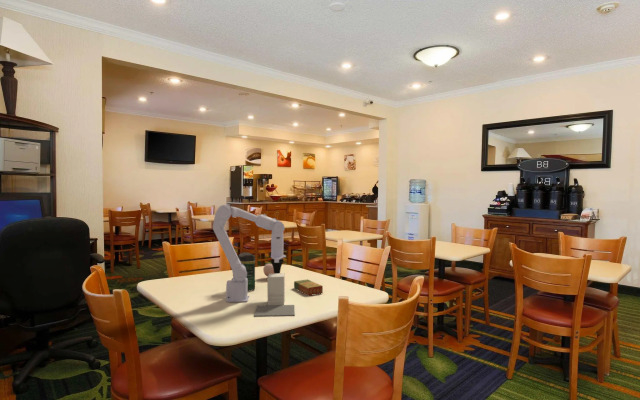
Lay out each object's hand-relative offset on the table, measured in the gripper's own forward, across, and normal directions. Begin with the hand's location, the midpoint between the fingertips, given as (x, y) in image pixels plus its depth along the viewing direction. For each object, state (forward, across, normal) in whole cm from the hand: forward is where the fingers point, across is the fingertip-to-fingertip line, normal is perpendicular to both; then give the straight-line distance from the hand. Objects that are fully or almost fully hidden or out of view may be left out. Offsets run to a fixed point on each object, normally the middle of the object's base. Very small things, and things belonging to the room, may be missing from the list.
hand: (277, 275), depth 170 cm
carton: (+11, +11, -15) cm, 22 cm away
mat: (+10, -20, 0) cm, 23 cm away
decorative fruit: (+11, +38, +5) cm, 40 cm away
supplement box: (+11, -9, 0) cm, 14 cm away
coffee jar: (+11, +15, +16) cm, 24 cm away
